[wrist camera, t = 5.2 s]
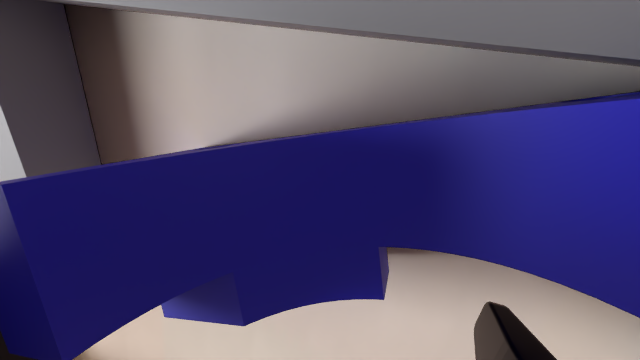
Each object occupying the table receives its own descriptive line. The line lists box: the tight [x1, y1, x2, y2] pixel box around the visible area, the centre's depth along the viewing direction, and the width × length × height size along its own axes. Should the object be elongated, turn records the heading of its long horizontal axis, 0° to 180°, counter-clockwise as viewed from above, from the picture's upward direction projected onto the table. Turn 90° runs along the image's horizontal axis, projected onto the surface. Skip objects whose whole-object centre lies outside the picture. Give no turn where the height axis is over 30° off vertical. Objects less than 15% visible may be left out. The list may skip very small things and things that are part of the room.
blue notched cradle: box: [0, 91, 640, 360], centre depth 6 cm, size 12×4×6 cm, turn 104°
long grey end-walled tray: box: [0, 0, 640, 182], centre depth 8 cm, size 10×23×2 cm, turn 84°
